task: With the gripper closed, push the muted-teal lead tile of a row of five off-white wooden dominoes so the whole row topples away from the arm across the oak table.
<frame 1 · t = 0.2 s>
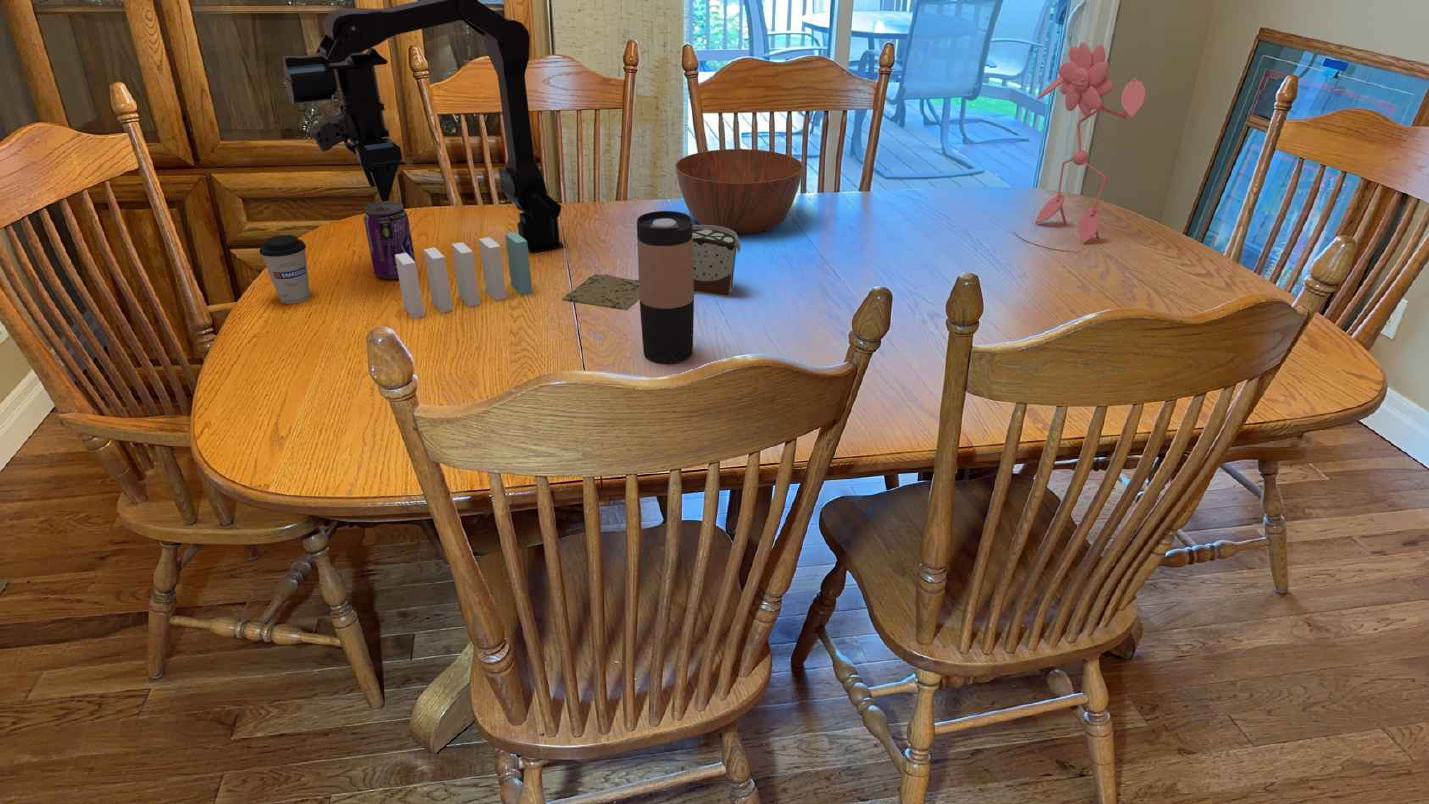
hand: (379, 193, 152), 14 cm above the table, fingers open, 9 cm apart
speckled square tile: (610, 295, 153), on the table
beverage can: (396, 275, 160), on the table
domino 1: (521, 289, 154), on the table
bowl: (738, 222, 184), on the table
domino 5: (414, 312, 146), on the table
domino 2: (496, 294, 152), on the table
domino 4: (442, 306, 148), on the table
figurine: (1053, 236, 177), on the table
food container: (708, 288, 155), on the table
travel mug: (668, 354, 133), on the table
domino 3: (469, 300, 150), on the table
coffee cup: (295, 299, 151), on the table
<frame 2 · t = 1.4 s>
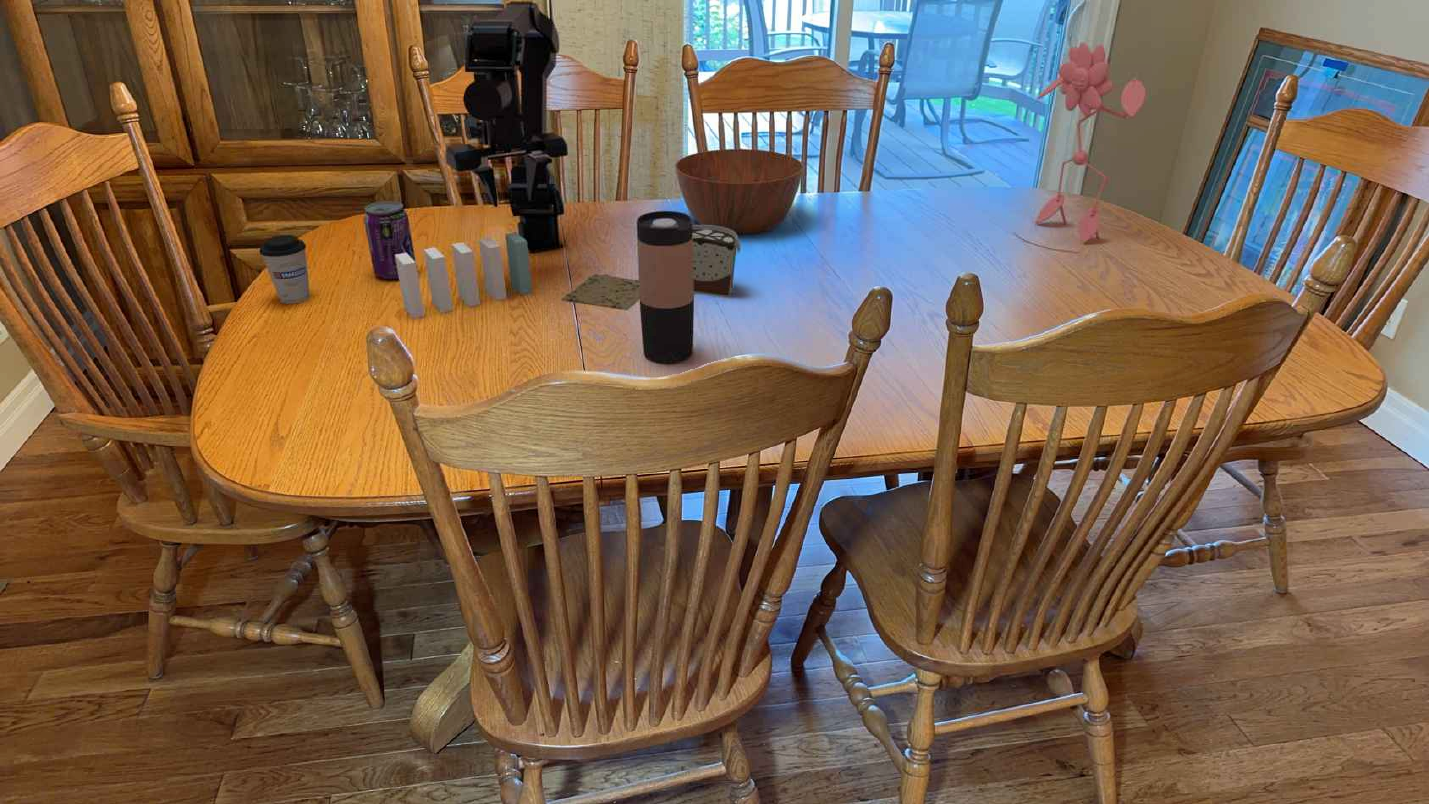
hand: (513, 203, 152), 13 cm above the table, fingers open, 6 cm apart
nothing on the table moved.
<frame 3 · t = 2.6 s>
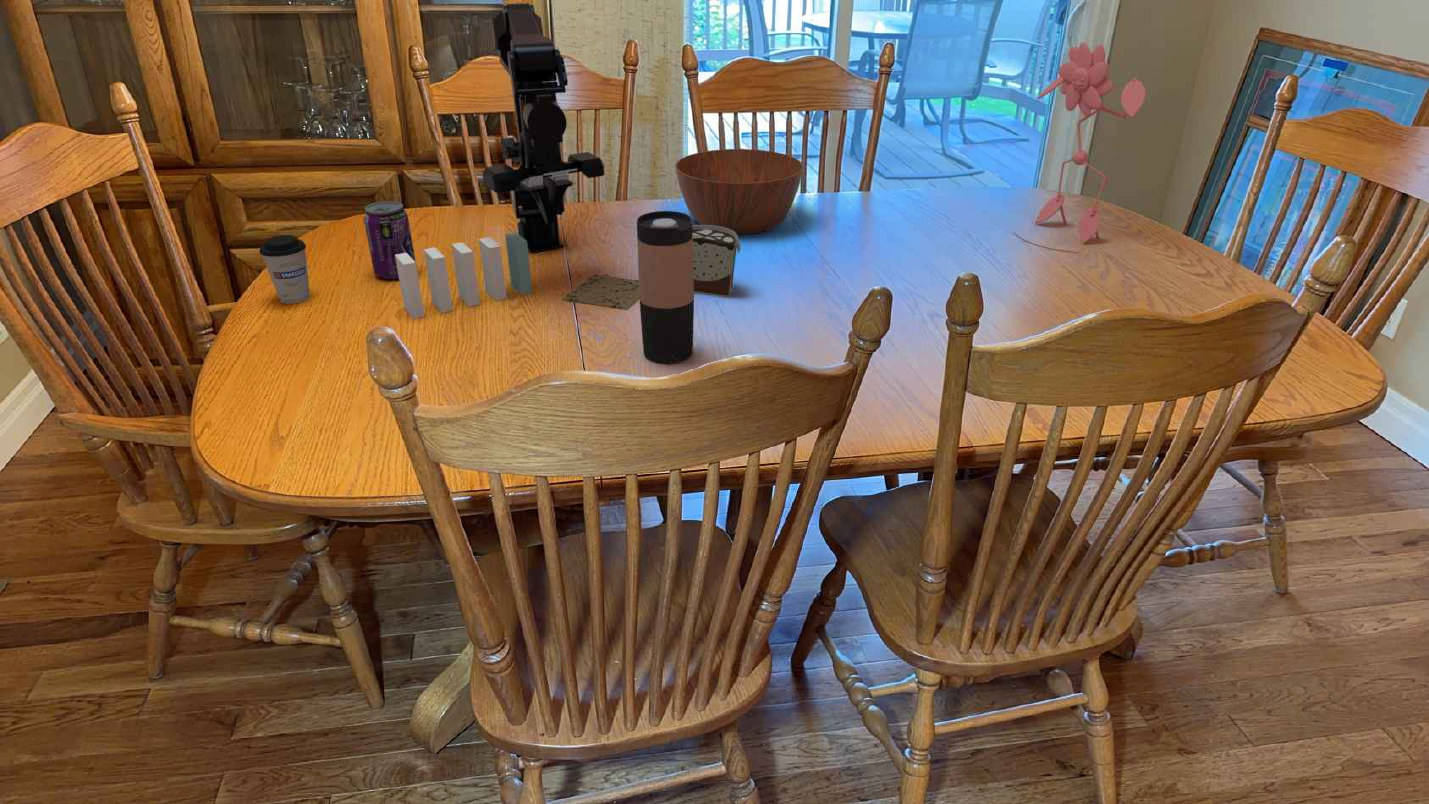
hand: (549, 223, 152), 10 cm above the table, fingers closed
nothing on the table moved.
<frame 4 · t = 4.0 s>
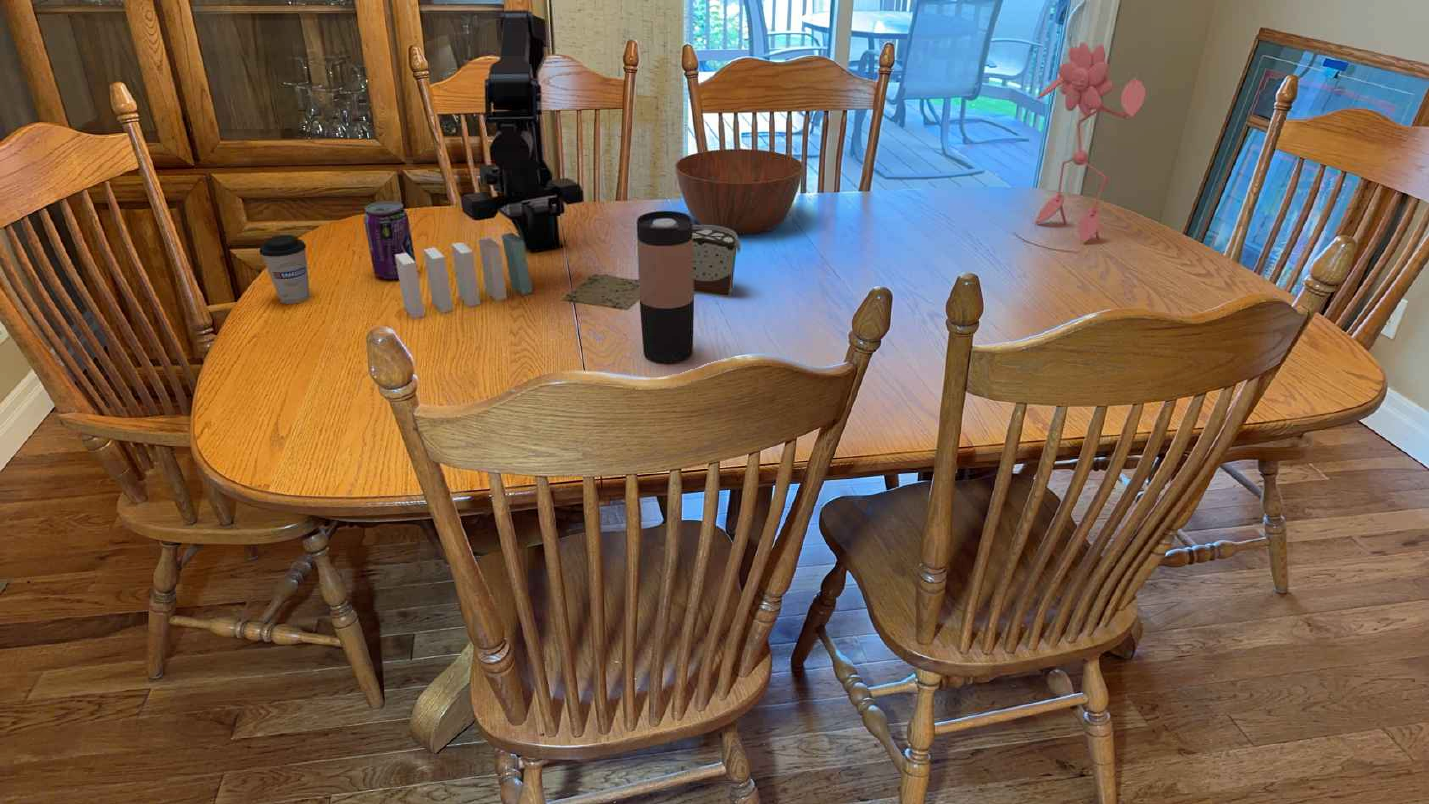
hand: (528, 249, 151), 7 cm above the table, fingers closed
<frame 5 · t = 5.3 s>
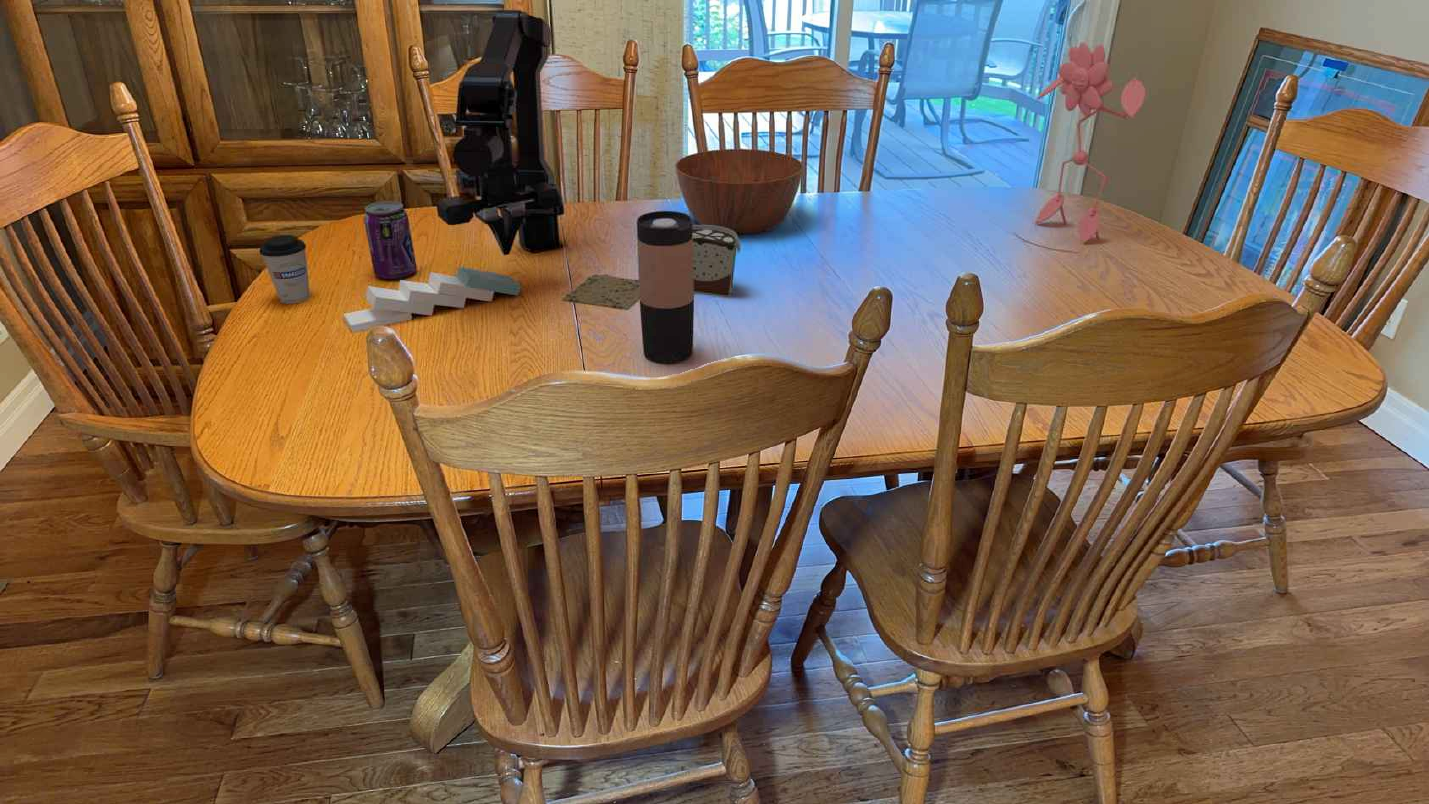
hand: (506, 254, 150), 6 cm above the table, fingers closed
domino 1: (513, 285, 153), point 1 cm above the table, tilted 67°, touching domino 2
domino 5: (407, 312, 145), on the table, tilted 90°, touching domino 4
domino 2: (487, 291, 151), point 1 cm above the table, tilted 67°, touching domino 1, domino 3
domino 4: (428, 304, 146), point 1 cm above the table, tilted 69°, touching domino 5
domino 3: (459, 297, 149), point 1 cm above the table, tilted 69°, touching domino 2
everything else where it was.
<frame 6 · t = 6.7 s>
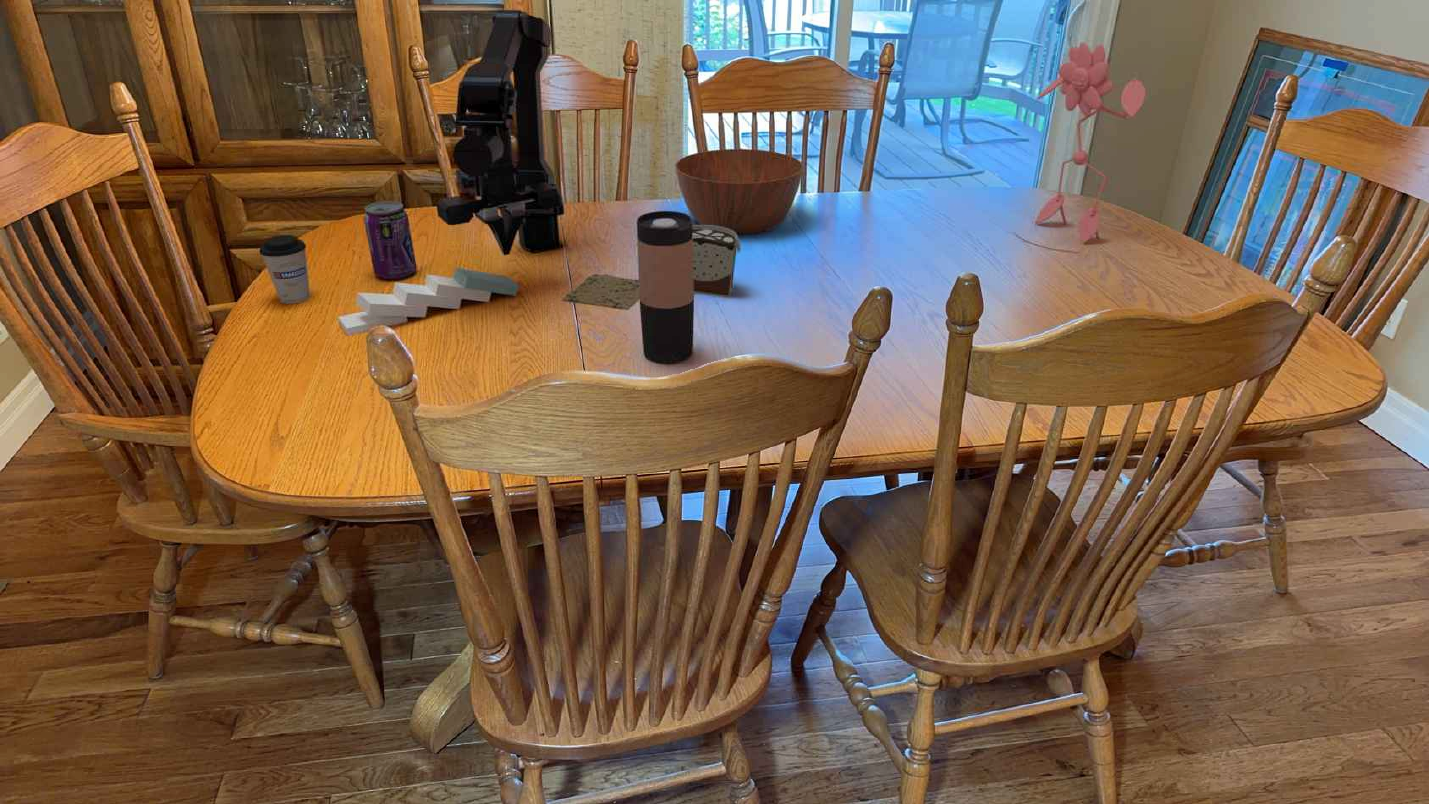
hand: (506, 254, 150), 6 cm above the table, fingers closed
domino 1: (511, 285, 153), point 1 cm above the table, tilted 68°, touching domino 2
domino 5: (402, 314, 144), on the table, tilted 90°
domino 4: (419, 306, 145), point 1 cm above the table, tilted 71°, touching domino 3
domino 3: (453, 298, 148), point 1 cm above the table, tilted 69°, touching domino 2, domino 4
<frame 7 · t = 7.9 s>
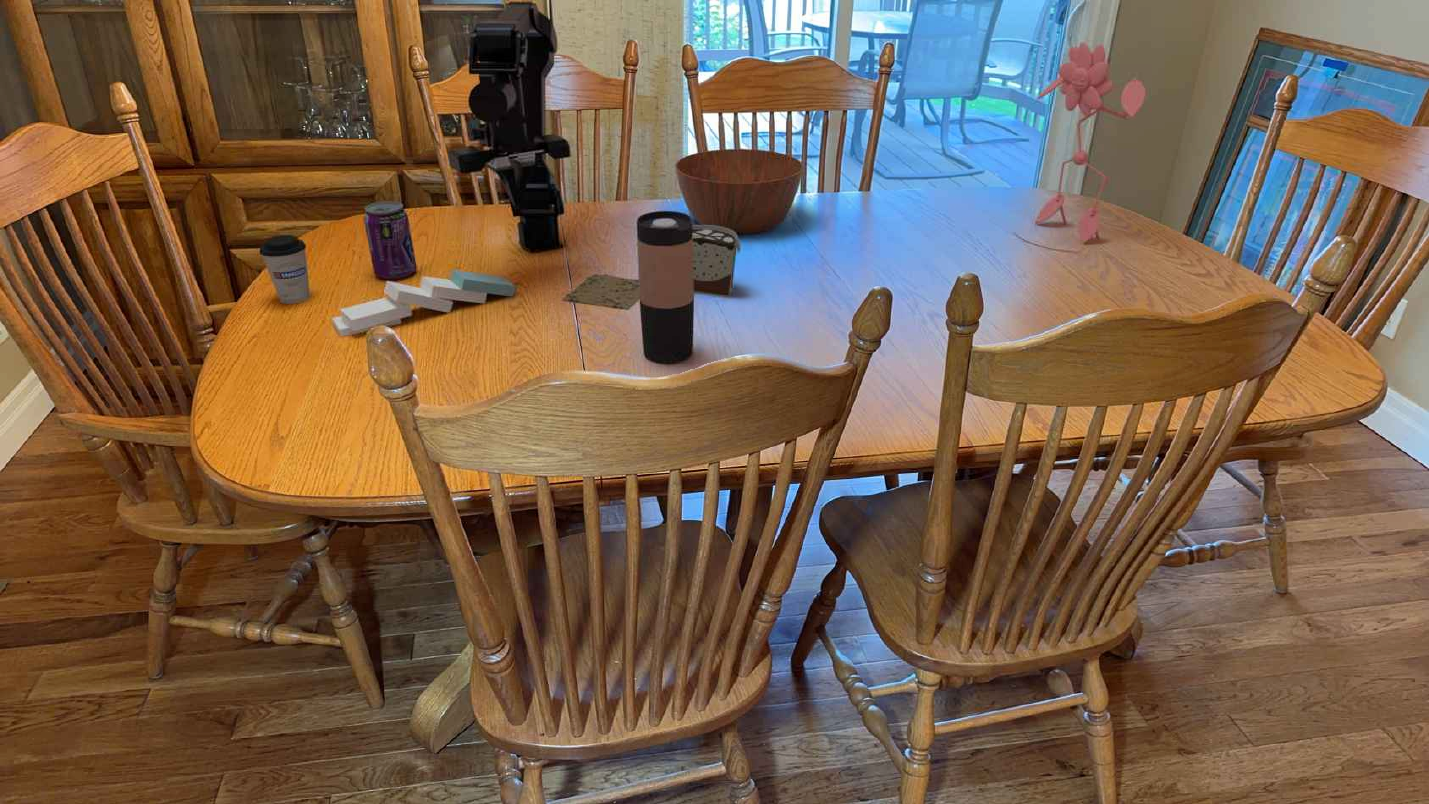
hand: (516, 205, 152), 13 cm above the table, fingers closed
domino 1: (507, 286, 153), point 1 cm above the table, tilted 69°, touching domino 2
domino 4: (404, 304, 143), point 2 cm above the table, tilted 90°, touching domino 3
domino 3: (444, 302, 147), point 1 cm above the table, tilted 63°, touching domino 2, domino 4
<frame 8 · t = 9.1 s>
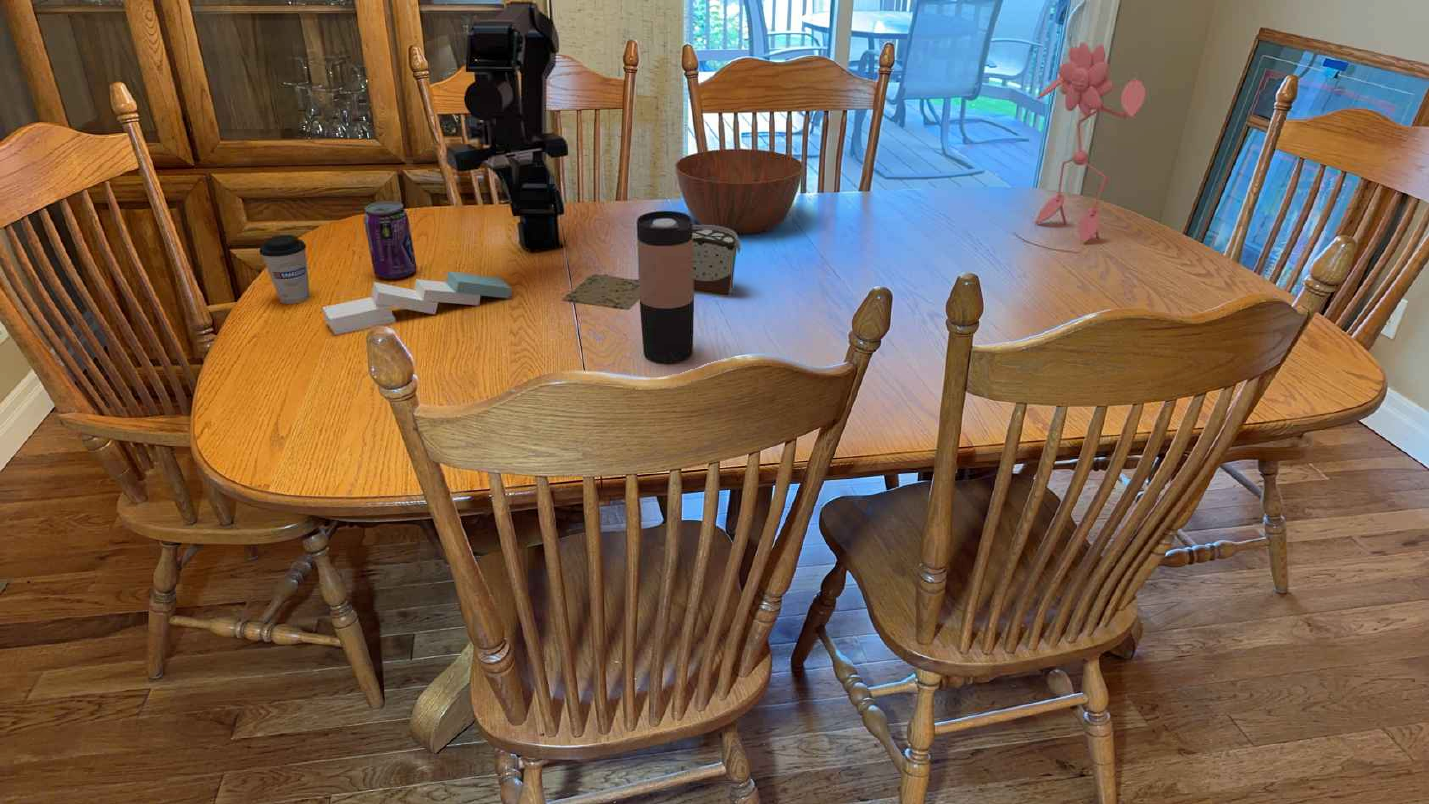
hand: (513, 203, 152), 13 cm above the table, fingers closed
domino 5: (392, 316, 144), on the table, tilted 90°, touching domino 4
domino 4: (387, 305, 143), point 2 cm above the table, tilted 90°, touching domino 3, domino 5
domino 3: (433, 303, 146), point 1 cm above the table, tilted 68°, touching domino 2, domino 4
at the end: domino 5 tilted 90°; domino 1 tilted 71° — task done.
